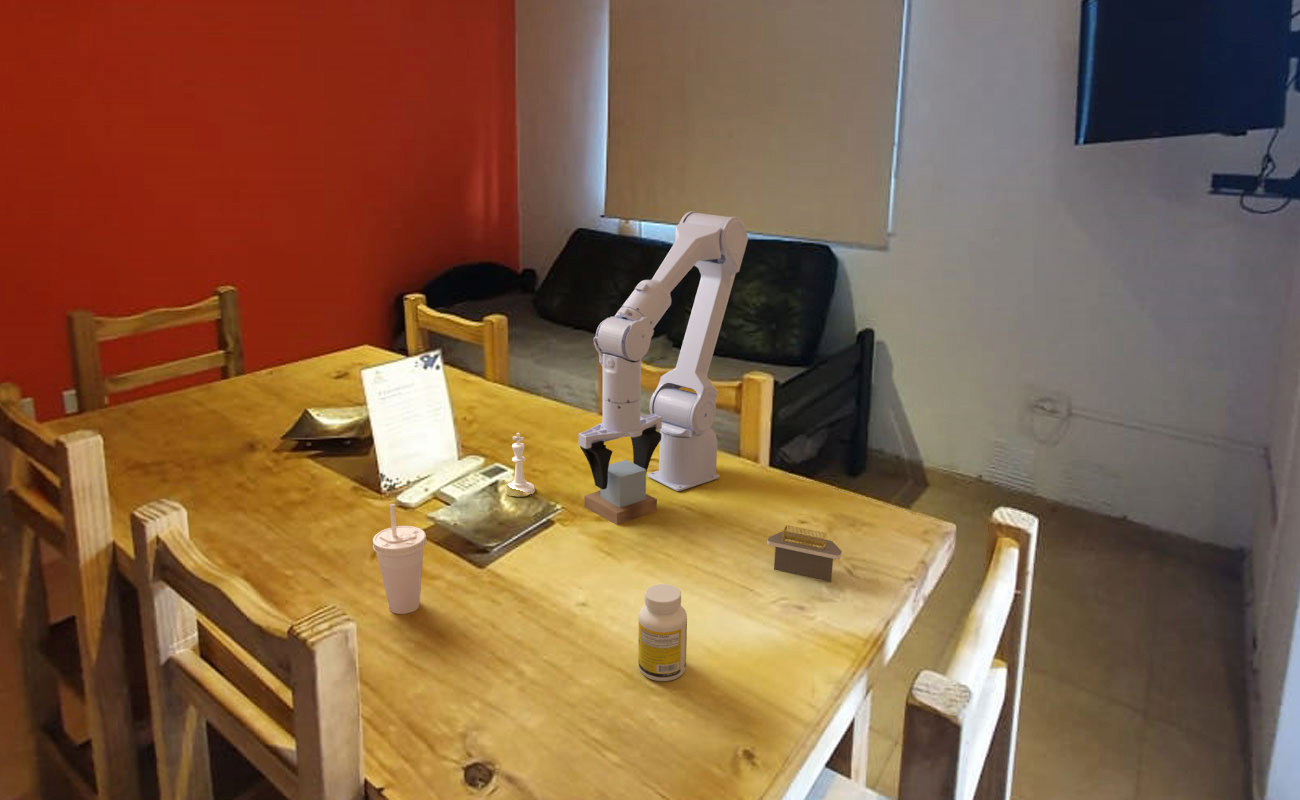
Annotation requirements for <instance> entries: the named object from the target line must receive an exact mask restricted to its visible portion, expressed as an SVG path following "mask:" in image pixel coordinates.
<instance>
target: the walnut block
mask: <svg viewBox="0 0 1300 800" xmlns="http://www.w3.org/2000/svg"><path fill="white" fill-rule="evenodd" d="M583 500H584V508H585V509H587V510H589V512H593V513H595V514H596V515H597V516H600V517H602V518H603V519H605V520H607V521H609V522H611V523H613V524H614V525H616V526H618V525H621V524H623V523H627V522H629V521H631V520H634V519H637V518H640V517H643V516H645V515H649V514H651V513H654V512H657V510H658V509H657V505H658V498H655V497H653V496H652V495H650V494H647V493H646V500H643V501H640V502H637V503H634V504H631V505H627V506H624V507H621V508H619V507H617V506H616V505H614V504H612V503H610V502H609V501H607V500H605V499H603V498H602V497H600V490H597V491H595V492H592V493H588V494H585V495H584V498H583Z"/></svg>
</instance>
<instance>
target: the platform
mask: <svg viewBox="0 0 1300 800" xmlns="http://www.w3.org/2000/svg"><path fill="white" fill-rule="evenodd" d="M826 536H828V535H827V532H824V531H822V532H821V531H817V530H814V529H808V528H804V527H798V526H794V525H789V524H788V525H787V524H785V526H784V527H783V529H782V530H781V531H780V532H778V533H775V534H772V535H770V536H768V538H767V541H766V542H767V543H766V544H767V545H768V546H770V547H774V549H775V550H774V561H773V562H774V563H773V564H774V565H773V570H774V571H778V572H782V573H787V574H792V575H796V576H801V577H804V578H805V577H806V578H810V579H815V580H820V581H824V582H829V583H831V582H832V577H833V576H832V575H833V565H834V564H833V563H834V560H840V559H841V557H842V556H843V555H842V554H843V550H842V549H840V547H839V546H838V545H837V544H836V543H835V542H834V541H832V540H831V539H826Z"/></svg>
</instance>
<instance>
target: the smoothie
mask: <svg viewBox="0 0 1300 800" xmlns="http://www.w3.org/2000/svg"><path fill="white" fill-rule="evenodd" d="M395 505H396V504H395V503H390V504H389V509H390V523H391V527H388V528H385V529H382V530H380V531H379V532H378V533H376V534H375V535H374V536H373V539H372V543H373V544H372V549H373V551H374V552H376V556H377V560H378V561H377V562H378V564H379V569H380V573H381V576H382V577H381V578H382V582H383V587H384V589H385V590H384V591H385V594H386V600H387V604H388V609H389V611H390V612H392V613H393V614H396V615H406V614H410V613H414V612H415V611H416V610H417V609H419V608H420V605H421V592H422V577H423V575H422V574H423V564H424V563H423V561H424V550H425V549H424V547H425V546H426V545H427V543H428V542H427V540H428V539H427V536H426V535H427V534H426V532H425V531H424V530H423V529H421V528H419V527H417V526H412V525H398V526H397V519H396V518H397V517H396V506H395Z"/></svg>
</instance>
